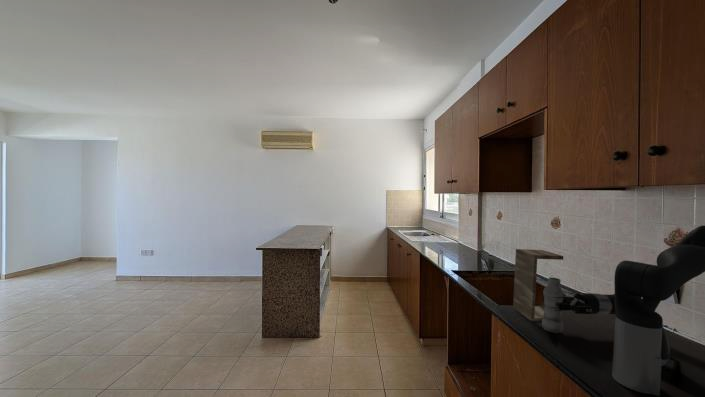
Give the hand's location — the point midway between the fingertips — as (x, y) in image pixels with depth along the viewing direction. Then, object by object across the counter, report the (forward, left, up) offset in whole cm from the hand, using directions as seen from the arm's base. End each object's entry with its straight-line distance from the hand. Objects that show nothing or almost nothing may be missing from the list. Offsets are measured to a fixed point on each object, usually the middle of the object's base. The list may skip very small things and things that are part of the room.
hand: (550, 302), depth 111 cm
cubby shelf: (+7, -15, -11) cm, 20 cm away
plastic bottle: (-1, -1, -11) cm, 11 cm away
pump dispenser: (-26, +2, -11) cm, 28 cm away
